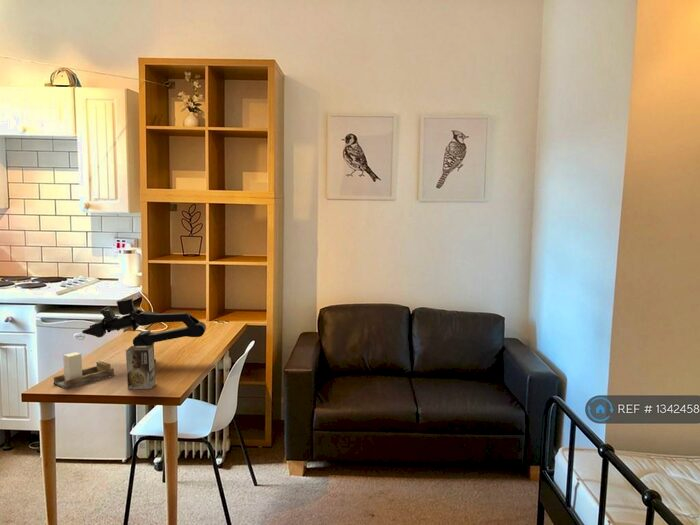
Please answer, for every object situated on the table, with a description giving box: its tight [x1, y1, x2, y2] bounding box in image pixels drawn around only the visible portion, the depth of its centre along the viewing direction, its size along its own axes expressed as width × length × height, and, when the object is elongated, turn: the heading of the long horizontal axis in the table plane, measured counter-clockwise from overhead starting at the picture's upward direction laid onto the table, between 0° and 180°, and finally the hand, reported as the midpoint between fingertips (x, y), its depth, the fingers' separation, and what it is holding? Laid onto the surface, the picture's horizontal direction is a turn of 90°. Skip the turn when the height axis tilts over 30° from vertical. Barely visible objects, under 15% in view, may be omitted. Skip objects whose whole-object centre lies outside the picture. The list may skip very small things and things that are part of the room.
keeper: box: [62, 351, 83, 381], centre depth 208 cm, size 5×4×11 cm
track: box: [53, 360, 115, 390], centre depth 212 cm, size 20×10×5 cm, turn 146°
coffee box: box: [125, 345, 156, 390], centre depth 204 cm, size 9×6×16 cm
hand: (86, 329), depth 231 cm, fingers open, 9 cm apart
